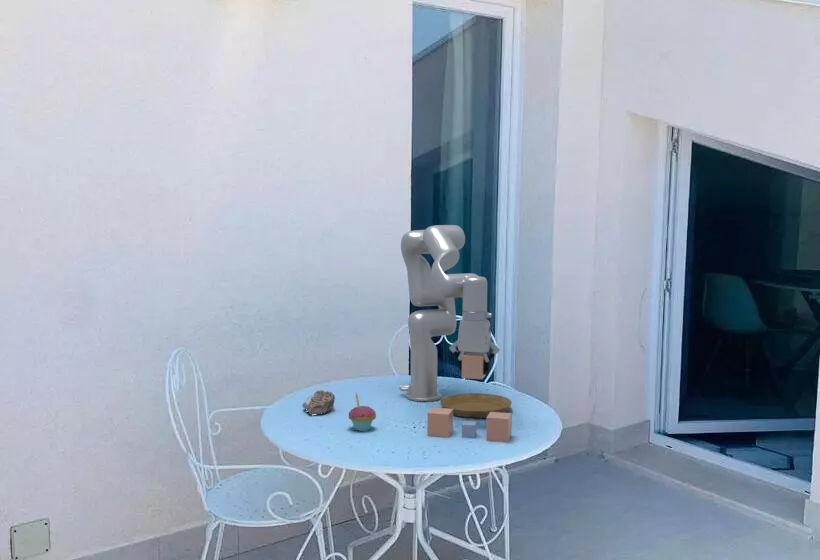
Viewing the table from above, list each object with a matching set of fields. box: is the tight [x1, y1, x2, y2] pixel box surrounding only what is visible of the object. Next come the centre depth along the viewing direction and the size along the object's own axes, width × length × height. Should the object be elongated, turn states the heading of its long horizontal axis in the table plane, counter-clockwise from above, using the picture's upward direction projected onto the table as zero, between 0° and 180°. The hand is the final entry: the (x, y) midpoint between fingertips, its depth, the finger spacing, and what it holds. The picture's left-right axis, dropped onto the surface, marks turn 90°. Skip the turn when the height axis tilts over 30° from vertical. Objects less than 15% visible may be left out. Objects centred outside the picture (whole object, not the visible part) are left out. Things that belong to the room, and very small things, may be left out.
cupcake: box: [348, 392, 377, 432], centre depth 245 cm, size 9×8×12 cm
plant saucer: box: [439, 392, 513, 419], centre depth 267 cm, size 24×24×3 cm
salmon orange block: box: [485, 412, 513, 443], centre depth 236 cm, size 6×6×7 cm
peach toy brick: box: [426, 406, 454, 438], centre depth 241 cm, size 6×6×7 cm
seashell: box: [302, 390, 336, 415], centre depth 266 cm, size 14×9×10 cm
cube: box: [461, 420, 477, 439], centre depth 239 cm, size 4×4×4 cm
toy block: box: [461, 353, 486, 380], centre depth 246 cm, size 6×6×7 cm
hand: (474, 372), depth 246 cm, fingers closed on toy block, 6 cm apart
